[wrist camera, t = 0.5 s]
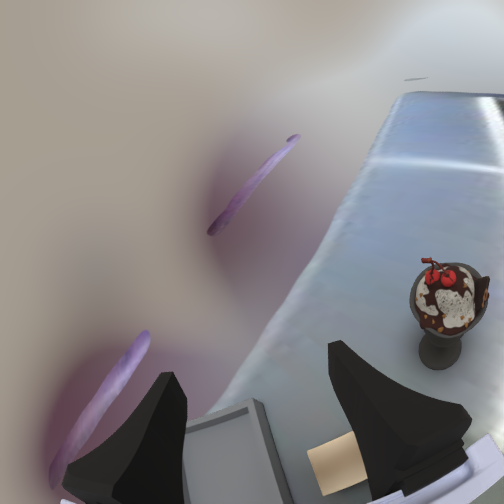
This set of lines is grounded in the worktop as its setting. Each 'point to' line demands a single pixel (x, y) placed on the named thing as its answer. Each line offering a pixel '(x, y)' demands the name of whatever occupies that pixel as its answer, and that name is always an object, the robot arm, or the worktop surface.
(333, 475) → the block
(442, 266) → the sundae
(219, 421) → the tray
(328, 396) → the worktop surface
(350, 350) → the robot arm
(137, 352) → the worktop surface
